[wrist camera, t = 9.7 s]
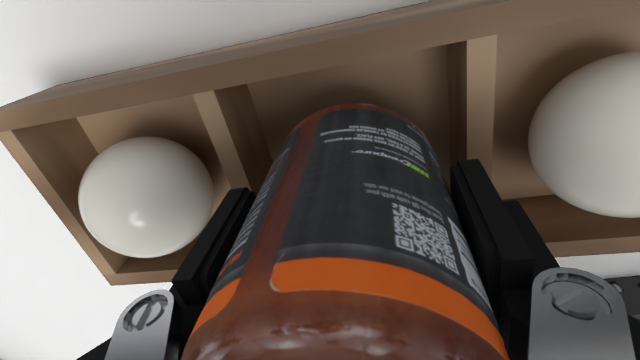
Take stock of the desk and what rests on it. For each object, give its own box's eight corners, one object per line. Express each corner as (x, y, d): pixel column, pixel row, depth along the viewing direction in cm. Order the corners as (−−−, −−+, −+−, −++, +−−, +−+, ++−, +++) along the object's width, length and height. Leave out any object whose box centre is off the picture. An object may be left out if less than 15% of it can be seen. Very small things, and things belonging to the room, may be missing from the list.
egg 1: (244, 203, 18) (203, 281, 13) (158, 213, 19) (93, 288, 14) (206, 109, 15) (139, 167, 11) (108, 127, 16) (12, 186, 12)
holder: (674, 185, 15) (757, 244, 12) (150, 237, 21) (111, 285, 18) (770, -76, 10) (949, -95, 7) (57, 85, 16) (-20, 114, 13)
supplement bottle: (290, 231, 15) (144, 695, 5) (268, 99, 12) (-161, 639, 2) (431, 234, 14) (554, 800, 4) (447, 92, 11) (953, 941, 1)
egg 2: (641, 157, 14) (767, 246, 9) (503, 173, 15) (558, 258, 11) (681, 21, 11) (879, 56, 7) (511, 52, 12) (588, 99, 8)
